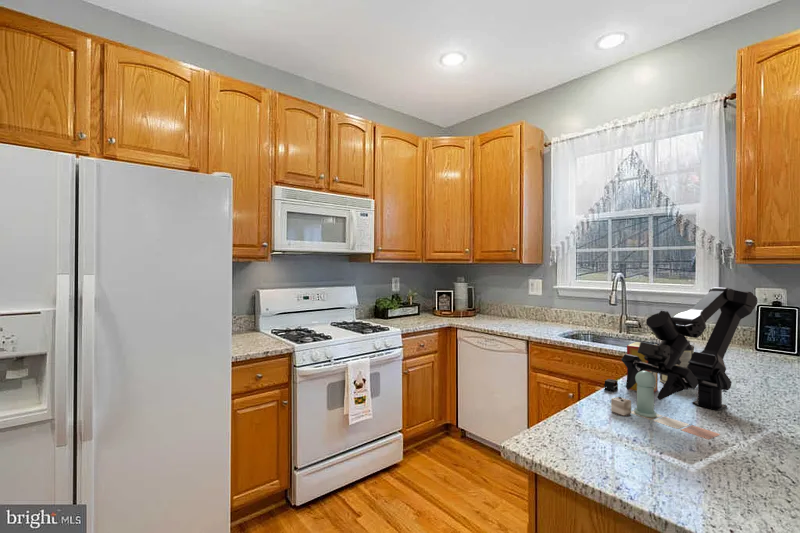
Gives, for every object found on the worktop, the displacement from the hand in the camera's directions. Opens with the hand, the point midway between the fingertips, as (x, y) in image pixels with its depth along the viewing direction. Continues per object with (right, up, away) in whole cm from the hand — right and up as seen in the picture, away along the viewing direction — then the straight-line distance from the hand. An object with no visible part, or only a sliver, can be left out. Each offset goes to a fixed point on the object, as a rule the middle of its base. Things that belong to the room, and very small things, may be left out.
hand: (642, 393), depth 104 cm
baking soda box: (+15, -7, +23) cm, 29 cm away
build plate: (+3, -8, +21) cm, 23 cm away
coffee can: (+34, -8, +33) cm, 48 cm away
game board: (+6, -7, -3) cm, 9 cm away
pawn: (+1, -6, 0) cm, 6 cm away
